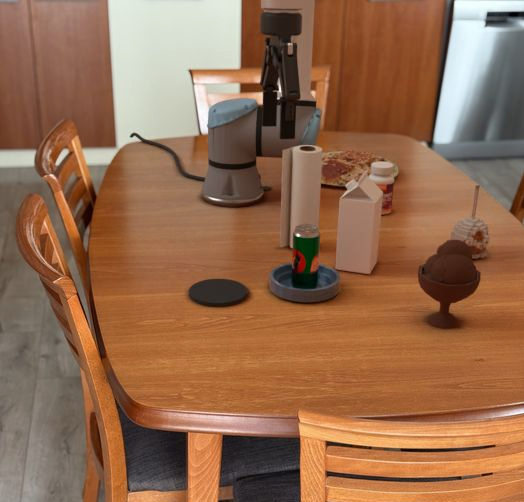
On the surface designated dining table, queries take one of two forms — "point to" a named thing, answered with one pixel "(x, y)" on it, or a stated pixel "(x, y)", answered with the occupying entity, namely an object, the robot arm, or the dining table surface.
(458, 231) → the candy apple
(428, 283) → the ice cream bowl
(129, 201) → the dining table surface
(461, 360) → the dining table surface
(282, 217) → the paper towel roll
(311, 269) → the soda can
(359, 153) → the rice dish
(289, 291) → the dish
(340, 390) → the dining table surface
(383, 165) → the pill bottle
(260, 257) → the dining table surface
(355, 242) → the milk carton
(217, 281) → the coaster
